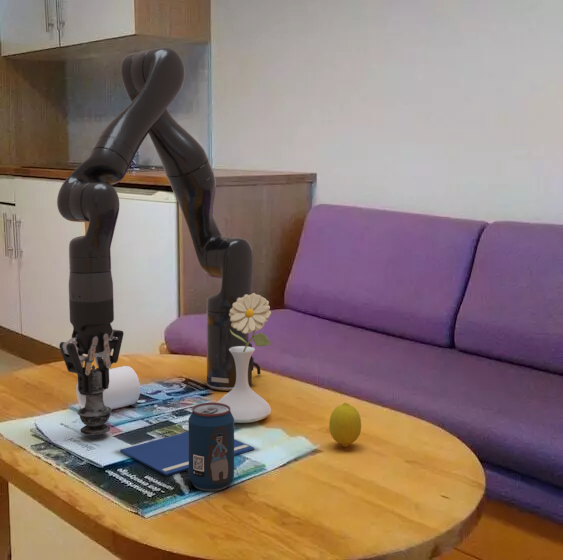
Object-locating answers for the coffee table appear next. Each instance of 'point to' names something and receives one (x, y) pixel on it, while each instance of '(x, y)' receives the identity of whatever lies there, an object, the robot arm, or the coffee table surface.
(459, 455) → the coffee table surface
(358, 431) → the lemon
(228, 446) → the soda can
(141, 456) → the blue notebook
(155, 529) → the coffee table surface
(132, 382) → the mug
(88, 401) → the dark grey turned piece
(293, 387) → the coffee table surface
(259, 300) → the flower in vase
